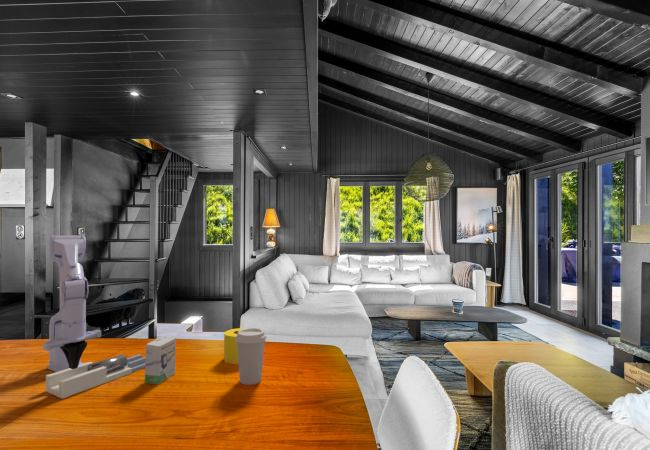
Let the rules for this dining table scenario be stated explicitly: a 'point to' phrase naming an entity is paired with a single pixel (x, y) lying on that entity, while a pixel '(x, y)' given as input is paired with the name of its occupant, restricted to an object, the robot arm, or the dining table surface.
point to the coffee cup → (250, 354)
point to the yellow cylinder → (231, 346)
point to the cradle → (136, 362)
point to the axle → (110, 363)
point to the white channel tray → (80, 379)
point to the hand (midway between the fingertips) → (73, 367)
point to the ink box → (160, 360)
